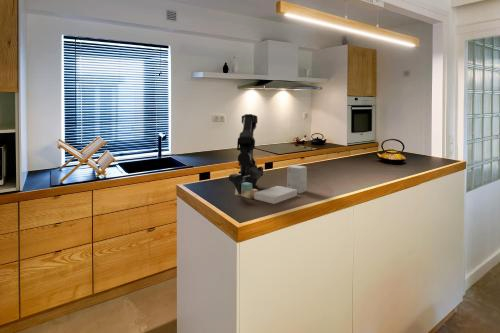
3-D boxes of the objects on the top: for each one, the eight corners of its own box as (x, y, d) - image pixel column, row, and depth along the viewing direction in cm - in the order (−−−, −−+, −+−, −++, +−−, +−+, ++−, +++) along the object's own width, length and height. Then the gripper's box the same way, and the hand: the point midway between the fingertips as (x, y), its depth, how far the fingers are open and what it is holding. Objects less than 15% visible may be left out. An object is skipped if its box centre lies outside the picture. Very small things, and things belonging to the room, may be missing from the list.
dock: (253, 198, 151) (253, 192, 150) (277, 191, 164) (277, 185, 163) (273, 203, 143) (274, 197, 142) (296, 195, 155) (297, 189, 155)
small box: (306, 191, 163) (307, 166, 161) (299, 193, 159) (300, 168, 156) (293, 188, 169) (294, 164, 166) (286, 191, 164) (286, 166, 162)
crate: (240, 189, 156) (240, 183, 155) (246, 187, 159) (246, 182, 158) (246, 190, 153) (246, 184, 153) (252, 189, 156) (252, 183, 156)
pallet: (235, 195, 158) (235, 188, 157) (243, 193, 162) (243, 186, 162) (249, 199, 151) (249, 192, 151) (258, 196, 156) (258, 189, 155)
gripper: (244, 165, 141) (245, 199, 144) (271, 160, 155) (271, 191, 158) (227, 163, 149) (228, 195, 152) (254, 158, 162) (254, 187, 165)
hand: (246, 192), depth 156 cm, fingers open, 9 cm apart
